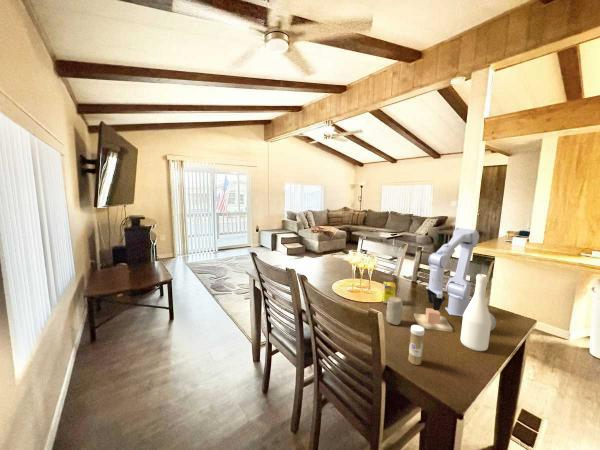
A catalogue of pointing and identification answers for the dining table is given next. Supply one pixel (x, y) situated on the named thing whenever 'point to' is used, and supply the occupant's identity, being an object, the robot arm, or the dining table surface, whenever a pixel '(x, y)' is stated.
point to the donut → (492, 322)
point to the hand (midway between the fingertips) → (433, 306)
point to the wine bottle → (477, 319)
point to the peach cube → (432, 316)
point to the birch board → (442, 326)
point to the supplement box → (388, 291)
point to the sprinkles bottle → (416, 344)
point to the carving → (394, 310)
